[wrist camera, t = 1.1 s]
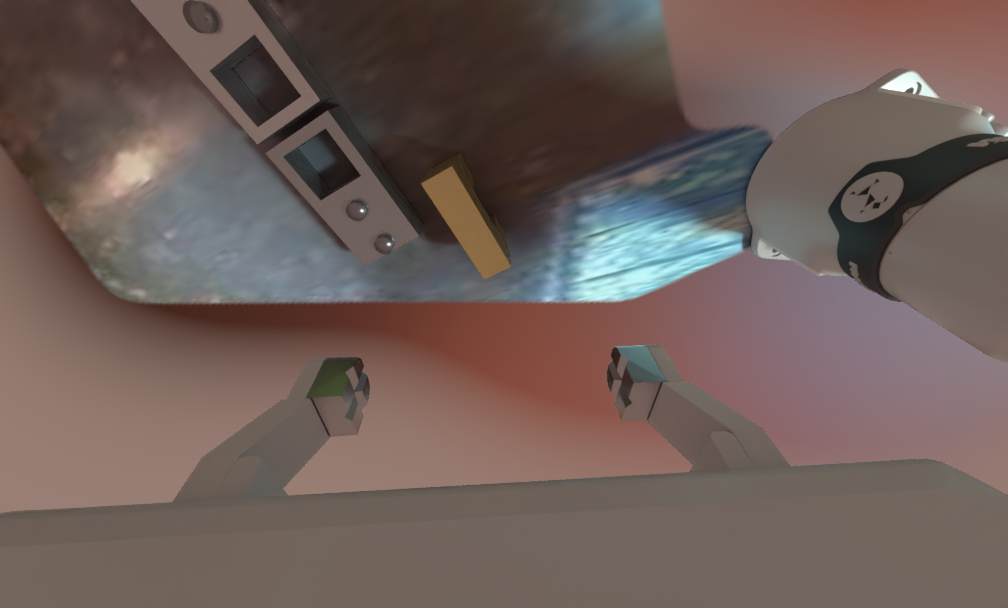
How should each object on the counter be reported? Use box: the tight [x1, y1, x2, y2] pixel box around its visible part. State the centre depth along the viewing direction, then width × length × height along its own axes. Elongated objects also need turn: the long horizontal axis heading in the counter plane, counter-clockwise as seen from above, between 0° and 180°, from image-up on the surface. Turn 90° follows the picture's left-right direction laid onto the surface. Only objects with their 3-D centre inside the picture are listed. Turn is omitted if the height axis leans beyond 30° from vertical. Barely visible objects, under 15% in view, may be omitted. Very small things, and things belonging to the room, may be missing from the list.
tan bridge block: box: [421, 152, 511, 279], centre depth 34 cm, size 11×3×6 cm, turn 28°
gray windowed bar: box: [131, 0, 424, 265], centre depth 30 cm, size 26×7×4 cm, turn 28°
